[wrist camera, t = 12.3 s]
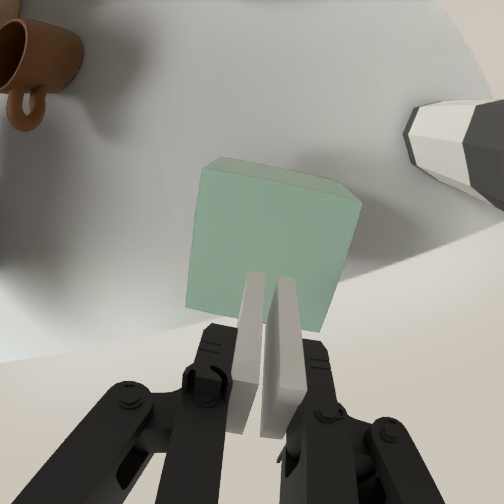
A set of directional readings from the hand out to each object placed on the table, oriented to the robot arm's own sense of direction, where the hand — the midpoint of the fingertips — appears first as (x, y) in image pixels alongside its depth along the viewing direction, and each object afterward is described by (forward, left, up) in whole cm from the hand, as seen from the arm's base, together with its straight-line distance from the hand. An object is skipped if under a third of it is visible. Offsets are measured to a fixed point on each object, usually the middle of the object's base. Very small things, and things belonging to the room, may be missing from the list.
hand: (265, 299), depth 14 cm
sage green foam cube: (0, 0, -11) cm, 11 cm away
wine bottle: (+15, +11, -17) cm, 25 cm away
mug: (-25, +11, -17) cm, 32 cm away
